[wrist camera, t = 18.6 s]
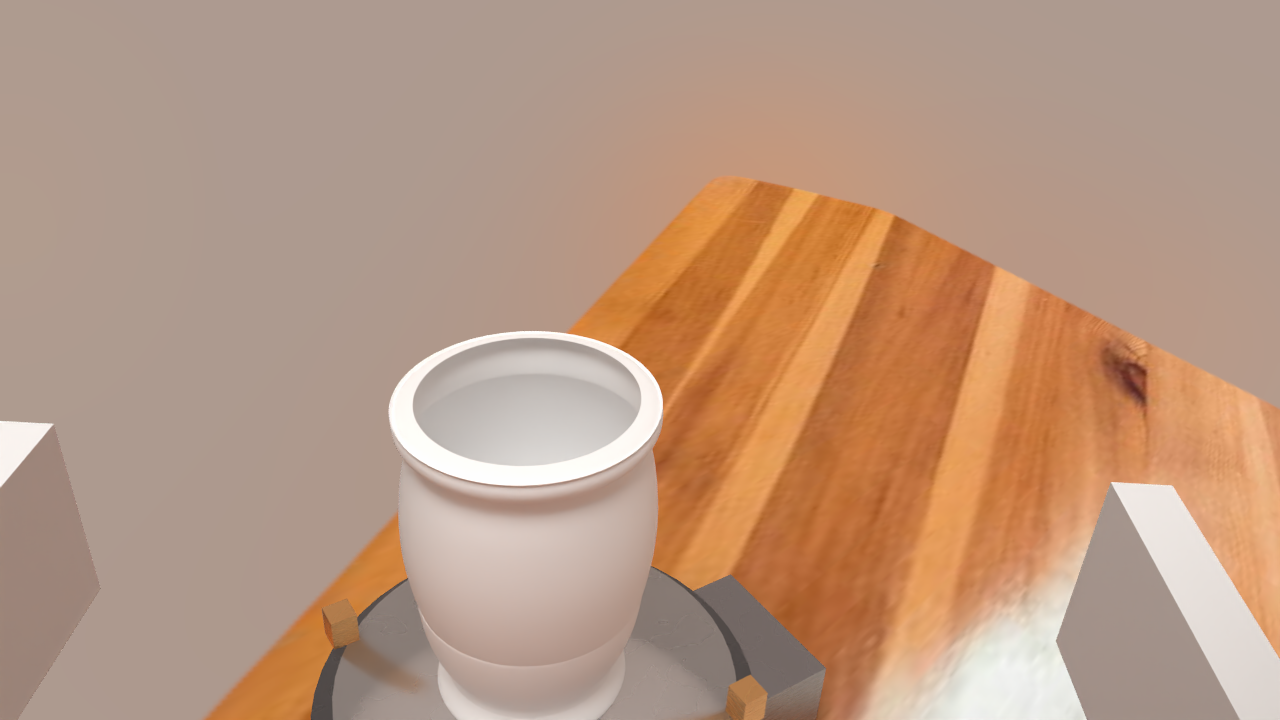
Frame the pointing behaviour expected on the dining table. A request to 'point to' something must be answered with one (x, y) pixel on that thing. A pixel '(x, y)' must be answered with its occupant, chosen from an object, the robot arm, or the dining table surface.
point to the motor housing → (654, 655)
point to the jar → (528, 518)
